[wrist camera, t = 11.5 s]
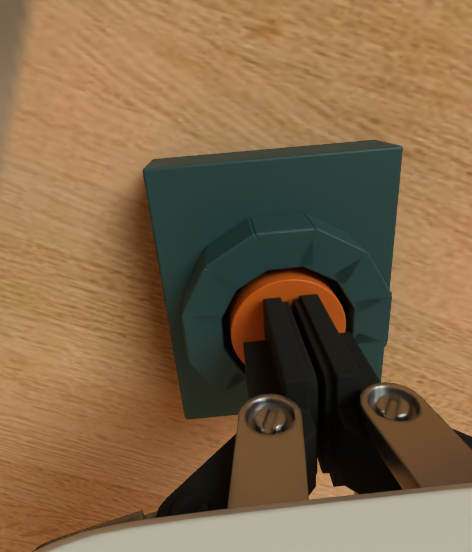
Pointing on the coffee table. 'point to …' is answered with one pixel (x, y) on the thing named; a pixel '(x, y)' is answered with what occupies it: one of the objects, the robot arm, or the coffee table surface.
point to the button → (273, 285)
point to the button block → (269, 247)
